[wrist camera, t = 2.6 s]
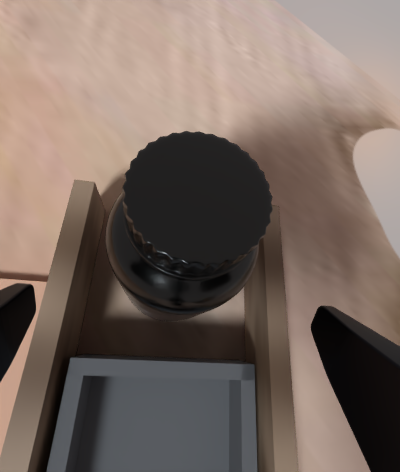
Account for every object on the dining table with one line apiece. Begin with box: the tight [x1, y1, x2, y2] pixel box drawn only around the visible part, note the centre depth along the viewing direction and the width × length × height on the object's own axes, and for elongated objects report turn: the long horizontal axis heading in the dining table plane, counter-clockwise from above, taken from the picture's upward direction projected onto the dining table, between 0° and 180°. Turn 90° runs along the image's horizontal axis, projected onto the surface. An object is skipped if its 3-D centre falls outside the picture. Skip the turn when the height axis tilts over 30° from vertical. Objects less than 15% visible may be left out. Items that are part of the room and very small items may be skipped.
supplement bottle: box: [105, 131, 273, 322], centre depth 13 cm, size 7×7×12 cm
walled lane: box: [0, 180, 298, 472], centre depth 15 cm, size 21×13×4 cm, turn 177°
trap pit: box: [47, 354, 257, 472], centre depth 14 cm, size 9×10×3 cm
